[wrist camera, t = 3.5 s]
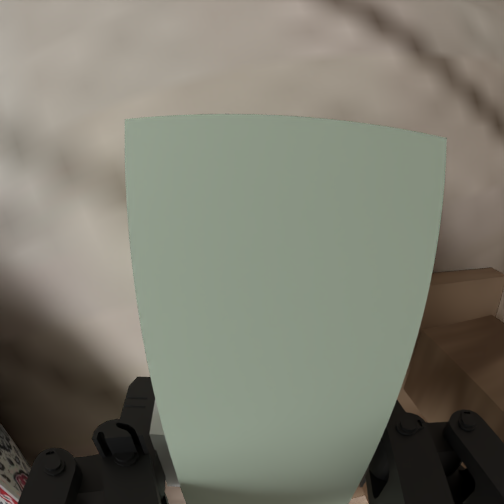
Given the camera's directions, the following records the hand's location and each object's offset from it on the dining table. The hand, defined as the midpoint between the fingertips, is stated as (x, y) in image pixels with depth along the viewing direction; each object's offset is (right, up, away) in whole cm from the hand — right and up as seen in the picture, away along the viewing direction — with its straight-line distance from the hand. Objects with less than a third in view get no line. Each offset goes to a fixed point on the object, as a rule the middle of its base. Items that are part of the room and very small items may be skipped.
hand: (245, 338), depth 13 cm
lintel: (0, 0, +1) cm, 1 cm away
